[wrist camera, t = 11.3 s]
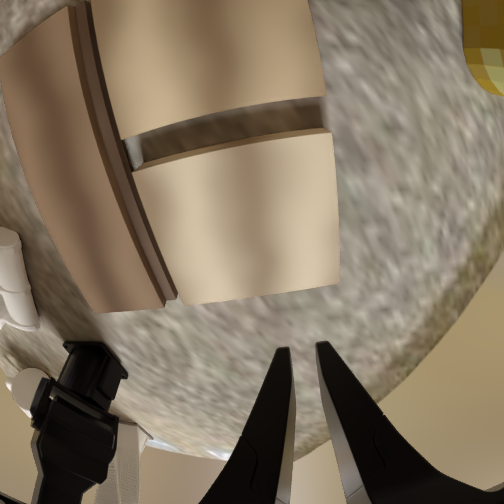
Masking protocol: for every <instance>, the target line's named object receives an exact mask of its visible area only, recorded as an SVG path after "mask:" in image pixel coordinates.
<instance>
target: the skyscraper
mask: <svg viewBox="0 0 504 504" xmlns="http://www.w3.org/2000/svg"><path fill="white" fill-rule="evenodd" d="M148 439H151V440H153V437H152V436H151V435H149V434H148V433H147V432H146V431H145V430H144V429H143V428H142V427H140V426H139V425H138V424H135V423H128V422H122V421H119V424H118V437H117V449H116V453H115V456H114V458H113V460H112V462H111V463H110V464H109V467H108V474H107V479H106V480H105V481H104V482H103V483H102V484H98V487H97V491H96V496H95V503H94V504H139V500H140V455H141V453H142V451H143V449H144V447H145V445H146V443H147V441H148Z"/></svg>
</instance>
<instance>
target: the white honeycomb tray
mask: <svg viewBox="0 0 504 504" xmlns="http://www.w3.org/2000/svg"><path fill="white" fill-rule="evenodd" d="M21 247H22V245H21V241H20V239H19V235H18V234H17V233H16V232H15V231H12V230H10V229H7V228H4V227H0V329H1V328H2V327H3V325H4V324H5V323H7V324H9V325H11V326H13V327H15V328H18V329H21V330H24V331H30V332H32V331H37V330H38V329H39V328H40V326H41V324H40V323H41V320H40V318H39V316H38V314H37V311H36V308H35V304H34V301H33V297H32V294H31V286H30V284H29V282H28V278H27V274H26V270H25V265H24V261H23V256H22V251H21Z"/></svg>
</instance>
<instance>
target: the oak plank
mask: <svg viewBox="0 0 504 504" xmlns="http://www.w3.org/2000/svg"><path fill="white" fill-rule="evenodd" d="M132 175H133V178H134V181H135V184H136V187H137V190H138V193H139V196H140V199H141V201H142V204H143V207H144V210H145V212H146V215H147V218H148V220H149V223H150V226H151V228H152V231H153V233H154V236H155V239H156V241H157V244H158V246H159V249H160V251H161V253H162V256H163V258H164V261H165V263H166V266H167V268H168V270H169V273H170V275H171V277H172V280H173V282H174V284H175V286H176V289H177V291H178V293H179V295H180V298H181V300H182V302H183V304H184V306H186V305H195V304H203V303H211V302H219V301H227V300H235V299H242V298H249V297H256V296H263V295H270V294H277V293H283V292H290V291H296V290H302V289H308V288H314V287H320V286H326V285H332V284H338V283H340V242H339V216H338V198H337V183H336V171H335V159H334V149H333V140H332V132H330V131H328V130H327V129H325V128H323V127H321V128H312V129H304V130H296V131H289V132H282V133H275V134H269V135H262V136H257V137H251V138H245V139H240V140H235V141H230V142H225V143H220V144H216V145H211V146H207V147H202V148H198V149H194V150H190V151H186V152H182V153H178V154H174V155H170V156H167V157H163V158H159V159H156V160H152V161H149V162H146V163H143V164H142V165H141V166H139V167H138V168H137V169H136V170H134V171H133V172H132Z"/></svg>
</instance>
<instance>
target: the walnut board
mask: <svg viewBox="0 0 504 504" xmlns="http://www.w3.org/2000/svg"><path fill="white" fill-rule="evenodd" d="M0 80H1V86H2V92H3V98H4V103H5V107H6V112H7V116H8V120H9V125H10V128H11V132H12V136H13V140H14V143H15V146H16V150H17V153H18V156H19V159H20V162H21V165H22V168H23V171H24V174H25V177H26V180H27V182H28V185H29V188H30V190H31V193H32V195H33V198H34V200H35V203H36V205H37V207H38V210H39V212H40V214H41V217H42V219H43V221H44V223H45V225H46V228H47V230H48V232H49V234H50V236H51V238H52V240H53V242H54V244H55V246H56V248H57V250H58V252H59V254H60V256H61V258H62V260H63V261H64V263H65V265H66V267H67V269H68V271H69V272H70V274H71V276H72V278H73V279H74V281H75V283H76V284H77V286H78V288H79V289H80V291H81V293H82V294H83V296H84V298H85V299H86V301H87V302H88V304H89V306H90V307H91V309H92V310H93V312H94V313H109V312H122V311H134V310H146V309H157V308H164V307H165V304H166V301H167V300H176V298H177V295H178V291H177V289H176V286H175V284H174V282H173V280H172V277H171V275H170V273H169V270H168V268H167V266H166V263H165V261H164V258H163V256H162V253H161V251H160V249H159V246H158V244H157V241H156V239H155V236H154V233H153V231H152V228H151V226H150V223H149V220H148V218H147V215H146V212H145V210H144V207H143V204H142V201H141V199H140V196H139V193H138V190H137V187H136V184H135V181H134V178H133V175H132V172H131V169H130V166H129V163H128V160H127V156H126V153H125V150H124V147H123V143H122V140H121V137H120V134H119V131H118V127H117V124H116V120H115V116H114V113H113V109H112V105H111V101H110V97H109V93H108V89H107V85H106V81H105V77H104V72H103V68H102V63H101V58H100V54H99V49H98V43H97V38H96V32H95V27H94V20H93V14H92V7H91V3H89V2H86V1H84V2H82V3H81V4H79V5H77V6H75V7H72V6H68V5H67V6H66V7H64V8H62V9H61V10H59V11H58V12H56V13H55V14H53V15H52V16H51V17H49V18H48V19H46V20H45V21H43V22H42V23H41V24H39V25H38V26H37V27H35V28H34V29H33V30H31V31H30V32H29V33H28V34H26V35H25V36H24V37H23V38H22V39H20V40H19V41H18V42H17V43H16V44H14V45H13V46H12V47H11V48H10V49H9V50H8V51H7V52H5V53H4V54H3V55H2V56H1V57H0Z"/></svg>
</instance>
